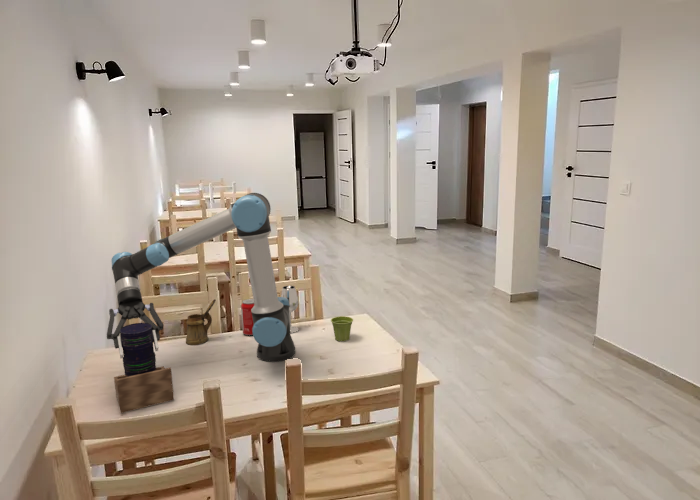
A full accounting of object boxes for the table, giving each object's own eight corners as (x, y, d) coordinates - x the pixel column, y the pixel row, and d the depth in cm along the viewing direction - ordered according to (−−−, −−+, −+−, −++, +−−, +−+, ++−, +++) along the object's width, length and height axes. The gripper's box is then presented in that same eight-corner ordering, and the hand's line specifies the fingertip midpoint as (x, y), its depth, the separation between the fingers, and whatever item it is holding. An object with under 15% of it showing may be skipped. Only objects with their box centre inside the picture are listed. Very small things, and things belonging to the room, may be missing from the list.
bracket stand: (165, 380, 176) (162, 351, 174) (174, 399, 162) (171, 368, 160) (115, 392, 168) (112, 361, 166) (120, 413, 154) (116, 380, 152)
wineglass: (279, 333, 219) (277, 289, 215) (284, 326, 227) (282, 284, 223) (296, 333, 218) (294, 290, 214) (301, 327, 225) (299, 285, 221)
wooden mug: (218, 343, 209) (215, 302, 205) (184, 346, 206) (181, 304, 203) (219, 335, 217) (216, 296, 214) (187, 338, 215) (183, 298, 211)
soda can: (239, 333, 219) (237, 301, 216) (253, 328, 225) (251, 297, 222) (249, 338, 214) (247, 304, 211) (264, 333, 220) (262, 300, 216)
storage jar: (123, 380, 157) (118, 335, 154) (124, 367, 166) (119, 325, 163) (157, 374, 161) (153, 330, 158) (156, 362, 170) (151, 320, 167)
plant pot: (333, 334, 216) (332, 315, 215) (354, 335, 215) (354, 316, 213) (329, 342, 207) (329, 323, 206) (351, 343, 206) (351, 324, 204)
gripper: (162, 294, 178) (175, 350, 167) (92, 304, 167) (101, 365, 157) (164, 283, 172) (177, 340, 162) (91, 293, 161) (100, 355, 151)
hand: (139, 353), depth 159 cm, fingers closed on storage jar, 10 cm apart
